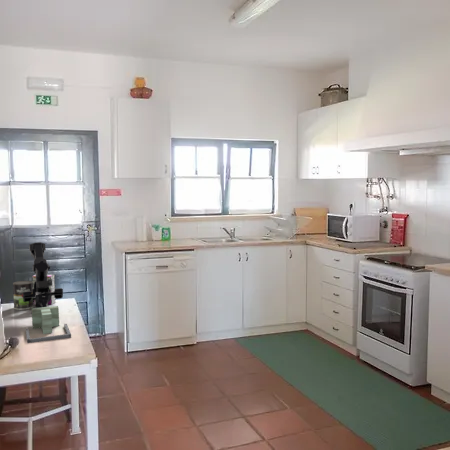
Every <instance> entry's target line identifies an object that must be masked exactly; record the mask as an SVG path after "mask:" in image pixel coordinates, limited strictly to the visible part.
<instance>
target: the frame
mask: <svg viewBox="0 0 450 450" xmlns="http://www.w3.org/2000/svg"><path fill="white" fill-rule="evenodd" d="M68 326H69V325H68V323H63V328H64V330H65V332H66V333H65V334H57V335H49V336H42V337H35V338H31V336H30V328H29V327H28V328H25V336H26V343H27V344H32V343H41V342H48V341H56V340H62V339H63V340H64V339H69V338H72V333H71V331H70V328H69V327H68Z"/></svg>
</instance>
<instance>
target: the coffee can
mask: <svg viewBox="0 0 450 450" xmlns="http://www.w3.org/2000/svg"><path fill="white" fill-rule="evenodd" d="M12 289H13V290H12V291H13V295H12V296H13V309H14V310H17V311H24V310H30V309H32V308H35V307H34V306H35V304H33V298H32V300H31V301H30V302H23V292H26V291H31V292H32V289H33V281H32V280H19V281H18V280H17V281H15V282H12Z"/></svg>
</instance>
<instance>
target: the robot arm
mask: <svg viewBox="0 0 450 450" xmlns="http://www.w3.org/2000/svg"><path fill="white" fill-rule="evenodd" d="M28 247H29V249H28V250H29V253H30V256H31V257H32V259H34V260H33V264H32V271H33V273H34V275H36V276H35V277H36V282H35V283H34V289H32V292H31V291H26V292H23V302H30V301H31V300H32V298H33V300H35V301H36V304H35V308H42V307H48V305H49V304H48V302H49V301H51V296H54V297H55V300H56V299H57V300H58V299H62V298H64V297H63V296H64V290H63V288H62V287H60V288H55V289H54V291H53V292H50V289H49V286H52V279H48V278H47V275H49V273H48V271H50V270H51V266H50V265H49V263H48V261H47V259H46V258H45V257H44V255H45V251H46V243H45V242H44V243H43V242H41V241H39V242H33V243H30V244H28Z"/></svg>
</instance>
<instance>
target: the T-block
mask: <svg viewBox="0 0 450 450" xmlns="http://www.w3.org/2000/svg"><path fill="white" fill-rule="evenodd" d="M59 314H60V312H59V305H53V306H51V305H50V306H47V307H42V308H36V307H33V308H31V320H32V321H31V326H32V330H36V329H41V331H42V334H43V335H47V334H52V333H53V327H60V315H59Z"/></svg>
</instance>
